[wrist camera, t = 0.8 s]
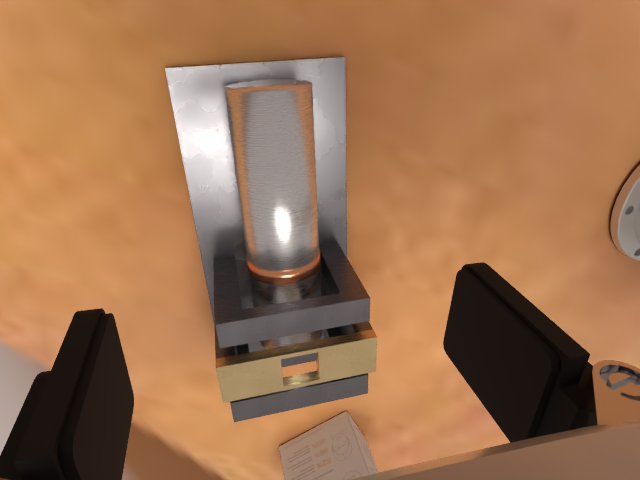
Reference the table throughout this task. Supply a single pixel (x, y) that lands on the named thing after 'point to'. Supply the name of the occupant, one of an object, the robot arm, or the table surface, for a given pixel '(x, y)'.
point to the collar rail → (230, 252)
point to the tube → (277, 191)
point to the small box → (328, 452)
